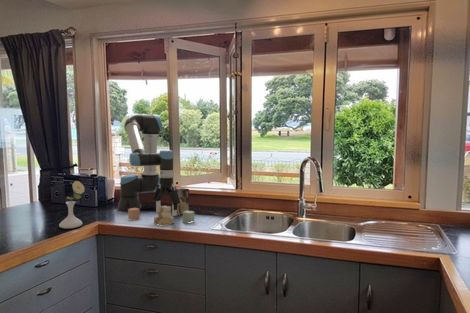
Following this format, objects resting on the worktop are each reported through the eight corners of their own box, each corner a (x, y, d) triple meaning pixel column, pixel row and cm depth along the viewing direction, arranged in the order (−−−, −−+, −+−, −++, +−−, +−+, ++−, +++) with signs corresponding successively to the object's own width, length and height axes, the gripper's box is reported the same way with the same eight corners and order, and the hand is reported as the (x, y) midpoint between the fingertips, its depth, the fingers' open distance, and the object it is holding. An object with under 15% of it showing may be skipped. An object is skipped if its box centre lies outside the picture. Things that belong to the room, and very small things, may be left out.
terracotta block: (128, 218, 195) (128, 208, 195) (135, 217, 198) (135, 207, 198) (131, 220, 191) (131, 210, 191) (139, 218, 195) (139, 209, 194)
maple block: (158, 217, 185) (158, 206, 184) (165, 215, 188) (165, 205, 188) (163, 218, 181) (163, 208, 181) (170, 217, 185) (170, 206, 185)
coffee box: (182, 211, 215) (182, 187, 214) (189, 213, 211) (189, 188, 210) (171, 214, 208) (171, 189, 207) (178, 215, 204) (178, 190, 203)
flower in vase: (65, 231, 167) (64, 183, 165) (55, 227, 173) (54, 181, 172) (89, 226, 177) (89, 181, 175) (79, 222, 184) (78, 179, 182)
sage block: (182, 222, 189) (182, 212, 188) (186, 220, 193) (186, 210, 193) (190, 223, 187) (190, 213, 186) (194, 221, 191) (194, 211, 191)
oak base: (154, 223, 185) (154, 217, 185) (166, 221, 191) (166, 214, 191) (161, 226, 180) (161, 219, 179) (173, 224, 185) (173, 217, 185)
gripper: (147, 175, 189) (147, 211, 191) (176, 179, 175) (176, 218, 176) (157, 174, 195) (157, 209, 197) (186, 178, 181) (186, 216, 182)
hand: (166, 213), depth 186 cm, fingers open, 13 cm apart
